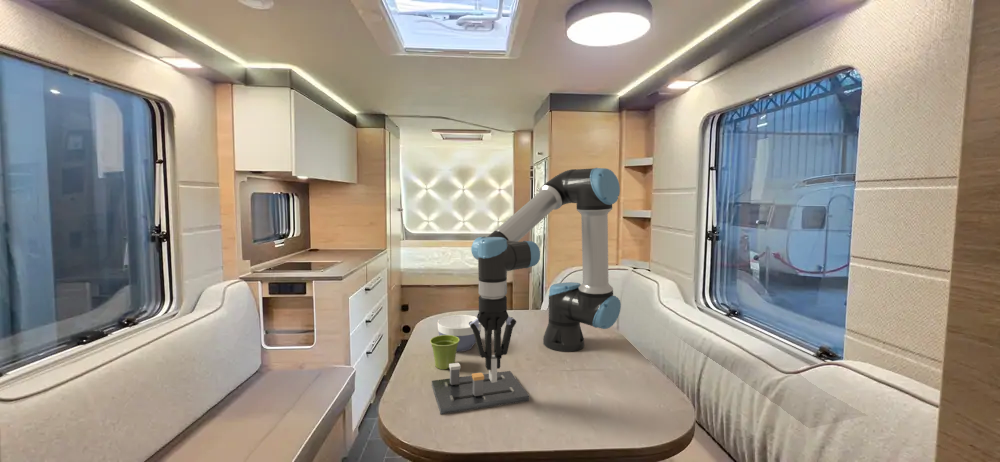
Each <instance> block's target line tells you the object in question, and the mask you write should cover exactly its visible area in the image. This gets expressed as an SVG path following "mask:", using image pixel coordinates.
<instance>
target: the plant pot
mask: <svg viewBox="0 0 1000 462" xmlns="http://www.w3.org/2000/svg"><path fill="white" fill-rule="evenodd" d="M459 341H460V339H459V338H458V337H456V336H452V335H440V336H439V335H437V336H434V337H431V338H430V340H429V343H430V344H431V348H432V351H433V352H432V353H433V358H434V359H433V360H434V365H435V367H436V368H437V369H438V370H447V369H450V368H449V364H452V363H456V355H457V351H456V350H457V346H458V343H459Z"/></svg>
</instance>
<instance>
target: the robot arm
mask: <svg viewBox="0 0 1000 462" xmlns="http://www.w3.org/2000/svg"><path fill="white" fill-rule="evenodd" d="M620 187H621V186H620V181H619V178H618V176H617V175H616V174H615V173H614V172H613V170H612V169H609V168H605V167H602V168H601V167H594V168H577V169H568V170H565V171H563V172H561V173H558V174H557V175H555V176H554V177H552V178H551V179H549V180H547V182H545V183H544V184H543V185H542V186H541V187H540V188H539V190H538V193H537V194H535V195H534V197H532V198H531V199H530V200H529V201H528V202H526V203H525V204H524V205H523V206H522V207H521V208H519V209H518V210H517V211H516V212H515V213H514V214H512V215H511V216H510V217H509V218H508V219H507V220H505V221H504V222H503V223H501V225H500V226H498V227H497V228H496V229H495V230H494V231H492V232H491V233H490V234H489V235H488V236H480V237H476V238H475V239H474V240H473V241H472V244H471V247H470V250H471V255H472V256H473V258H474V259H476V260H477V262H478V263H477V264H478V266H477V267H478V271H477V272H478V295H479V296H478V312H477V315H476V317H477V319H476V320H474V321H473V322H472V321H471V322H469V325H470V327H471V328H472V330H473V333H474V337H475V341H476V343H475V345H476V349H477V352H478V354H479V356H480V357H481V358H482V359H484V358H485V359H484V360H485V361H484V362H485V363H484V365H485V368H486V370H487V371H488V374H489V379H490V381H491V382H492V383H493V382H497V372H498V369H500V368H501V359H502V357H503V356H506V355H507V354H508V350H509V347H510V346H509V345H510V342H511V337H512V334H513V330H514V327H515V325H516V324H517V320H516V319H515V318H514V317H511V316H509V313H508V312H507V311H508V310H507V308H508V305H507V303H508V299H507V296H506V295H507V294H508V286H507V285H508V283H507V280H508V279H507V277H508V276H507V275H508V272H510V271H515V270H516V271H517V270H523V269H529V268H531V267H534V266H537V265H538V263H539V261H540V259H541V249H540V247H539V246H538V244H537V243H536V242H535V241H532V240H531V241H530V240H528V241H527V240H523V241H520V240H521V239H523V238H524V237H525V236H526V235H527V234H528V233H529V232H530V231H532V230H533V229H534V228H535V227H536V226H537V225H539V223H540V222H542V220H544V219H545V217H547V216H548V215H549V214H550V213H551V212H553V211H554V210H558V209H560V208H561V207H562V206H563V205H567V204H576V211H578V212H579V213H580V215H581V217H580V218H581V253H582V255H581V257H582V258H581V261H582V262H581V263H582V283H580V282H575V281H574V282H558V283H553V284H551V285H550V286H549V291H548V292H549V293H548V324H547V326H546V329H545V332H544V334H543V338H542V339H543V341H542V343H543V346H545V348H548V349H550V350H553V351H559V352H575V351H579V350H582V349H584V347H585V337H584V335H583V332H582V329H581V324H584V325H587V326H590V327H594V328H595V329H601V330H602V329H603V330H609V329H610V328H611V327H612V326H613V325H615V323H616V322H617V320H618V318H619V316H620V313H621V305H622V304H621V300H620V298H619V296H616V295H614V288H613V286H612V285H611V284H610V283H609V217H608V216H609V213H610V212H611V211H612V210H613V204H616V202H618V200H619V197H620V192H621V188H620ZM479 323H481V327H483V330H484V344H483V340H482V337H481V332H480V333H479V330H478V328H479ZM505 324H506V325H505ZM504 325H505V327H504V332H503V336H502V328H503V326H504ZM492 335H493V337H492ZM492 338H493V343H492ZM492 344H493V346H492ZM483 345H484V346H483ZM492 347H493V350H492ZM492 351H493V352H492ZM492 353H493V354H492Z"/></svg>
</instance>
